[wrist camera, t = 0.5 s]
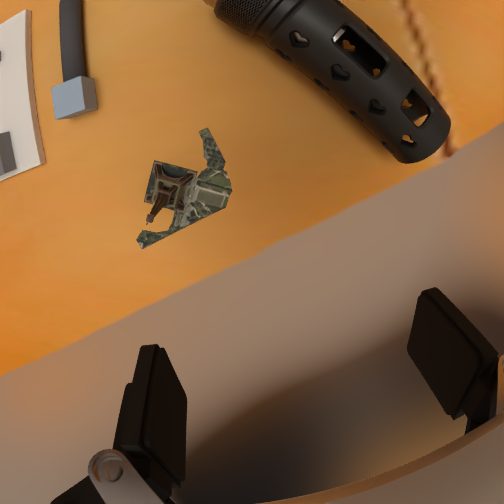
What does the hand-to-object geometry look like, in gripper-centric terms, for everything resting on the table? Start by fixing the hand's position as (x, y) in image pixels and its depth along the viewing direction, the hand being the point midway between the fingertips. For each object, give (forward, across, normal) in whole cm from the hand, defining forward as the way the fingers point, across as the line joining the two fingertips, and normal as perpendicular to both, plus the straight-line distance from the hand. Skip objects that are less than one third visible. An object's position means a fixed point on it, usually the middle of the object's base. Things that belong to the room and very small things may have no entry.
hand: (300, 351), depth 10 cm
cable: (+28, +17, -21) cm, 39 cm away
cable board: (+28, +32, -19) cm, 47 cm away
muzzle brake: (+29, -12, -14) cm, 34 cm away
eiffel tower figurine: (+29, +9, 0) cm, 31 cm away
